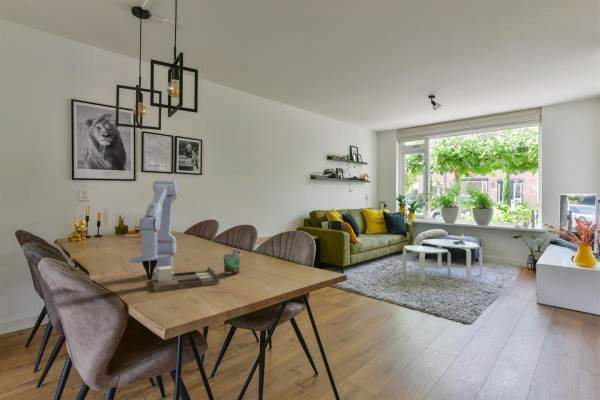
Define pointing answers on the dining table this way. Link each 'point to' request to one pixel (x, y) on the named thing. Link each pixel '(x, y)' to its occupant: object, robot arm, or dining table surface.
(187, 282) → the trap deck
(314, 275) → the dining table surface
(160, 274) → the block
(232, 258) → the food container
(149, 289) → the dining table surface
